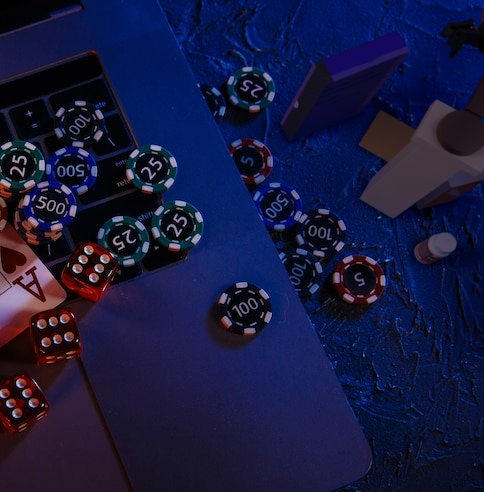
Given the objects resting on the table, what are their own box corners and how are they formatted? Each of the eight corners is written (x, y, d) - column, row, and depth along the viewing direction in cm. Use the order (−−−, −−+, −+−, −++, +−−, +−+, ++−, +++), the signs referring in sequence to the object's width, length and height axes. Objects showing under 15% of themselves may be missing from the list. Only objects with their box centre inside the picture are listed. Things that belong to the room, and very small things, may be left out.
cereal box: (349, 95, 138) (397, 29, 114) (360, 113, 136) (410, 50, 113) (280, 123, 136) (314, 62, 113) (290, 141, 135) (327, 83, 111)
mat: (428, 138, 135) (429, 137, 134) (408, 173, 133) (408, 172, 132) (379, 110, 137) (380, 109, 136) (358, 144, 134) (359, 144, 134)
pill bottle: (418, 266, 127) (439, 256, 119) (410, 245, 128) (430, 233, 120) (440, 261, 127) (462, 250, 119) (432, 240, 129) (453, 228, 120)
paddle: (514, 84, 105) (521, 79, 103) (470, 164, 101) (476, 160, 99) (473, 62, 106) (479, 56, 104) (428, 140, 102) (433, 135, 100)
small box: (418, 210, 130) (450, 188, 118) (406, 183, 132) (437, 158, 119) (453, 201, 131) (489, 178, 118) (441, 174, 133) (476, 148, 120)
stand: (416, 197, 131) (502, 135, 102) (399, 227, 129) (482, 172, 100) (366, 168, 133) (436, 98, 104) (348, 197, 131) (415, 134, 102)
